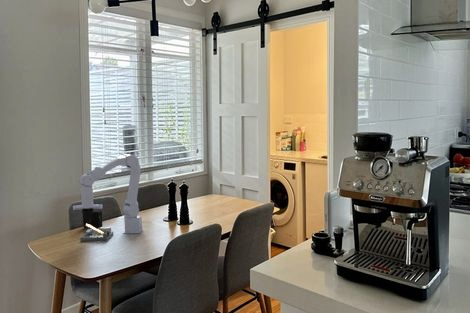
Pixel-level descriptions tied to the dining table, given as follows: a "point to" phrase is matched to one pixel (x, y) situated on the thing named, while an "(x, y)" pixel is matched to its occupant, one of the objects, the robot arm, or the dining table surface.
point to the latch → (89, 231)
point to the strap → (94, 229)
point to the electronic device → (94, 219)
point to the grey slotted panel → (98, 235)
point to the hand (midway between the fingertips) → (88, 222)
